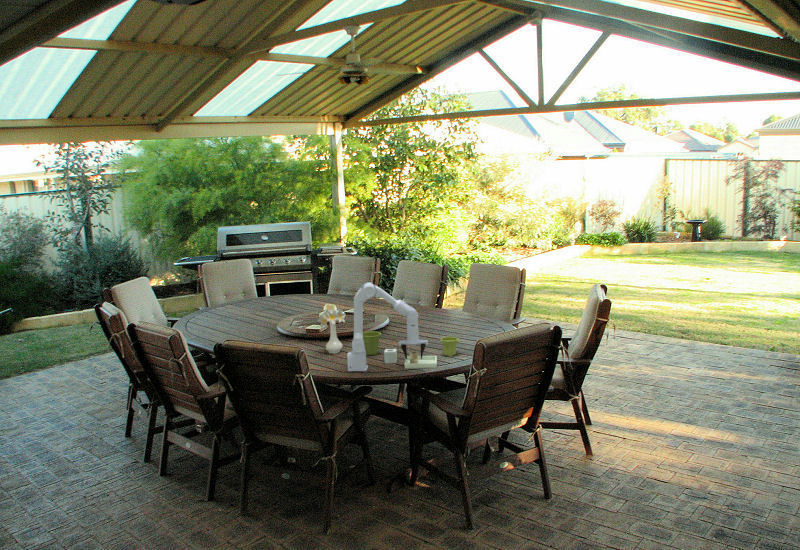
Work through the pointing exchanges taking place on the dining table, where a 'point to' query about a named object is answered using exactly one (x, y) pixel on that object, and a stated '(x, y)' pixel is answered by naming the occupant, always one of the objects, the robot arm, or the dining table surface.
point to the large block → (390, 355)
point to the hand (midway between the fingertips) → (413, 358)
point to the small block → (413, 357)
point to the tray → (422, 362)
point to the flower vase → (332, 329)
